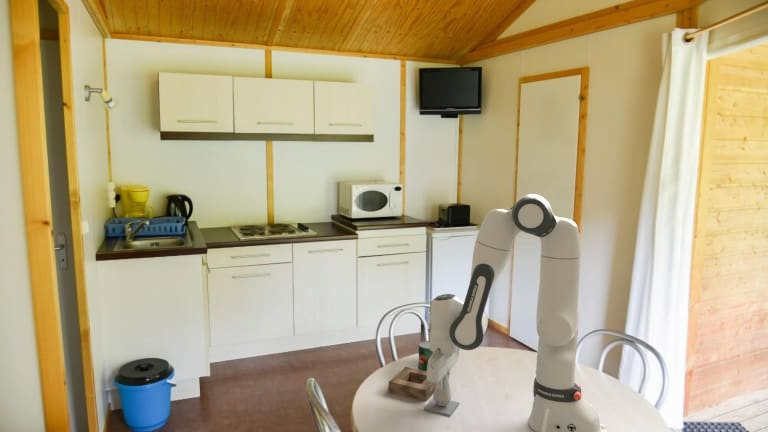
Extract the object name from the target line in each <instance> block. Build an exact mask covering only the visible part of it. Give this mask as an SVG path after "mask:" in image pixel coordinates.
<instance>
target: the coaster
mask: <svg viewBox="0 0 768 432" xmlns="http://www.w3.org/2000/svg"><path fill="white" fill-rule="evenodd" d="M459 406H460V402H458V401H454V400H450V402H449V404H448V405H446V406H439V405H437V404H436V403H435V400H434V398H433V397H432V398H431V399H430V401H429V402H427V404H426V405H425V406H424V407H423V411H426V412H427V411H428V412H431V413H435V414H439V415H443V416H447V417H452V415H453V413H455V411H456V410H457V409H458V407H459Z"/></svg>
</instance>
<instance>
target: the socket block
mask: <svg viewBox="0 0 768 432" xmlns="http://www.w3.org/2000/svg"><path fill="white" fill-rule="evenodd" d="M435 385H436V383H432V382H428V380H427V371H423V370H419V369H418V368H413V367H409V366H405V367H404V368H402V370H400V371H399V372H398V373H396V375H394V376H393V377H392V378H391V379H390V380H388V393H389V394H394V395H398V396H402V397H406V398H410V399H414V400H417V401H422V402H427V401H428V400H429V399H430V397H432V396H433V395H434V390H435Z"/></svg>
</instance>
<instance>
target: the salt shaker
mask: <svg viewBox="0 0 768 432" xmlns="http://www.w3.org/2000/svg"><path fill="white" fill-rule="evenodd" d="M449 369H450V368H449V367H448V370H447V373H449ZM449 381H450V379H449V380H448V374H446V375H445V376H444V377H443V379H442V382H443V388H442V389H437V383H436V385H435V390H434V393H433V394H432V396H433V397H432V398H434V400H435V403H436V404H437V405H439V406H446V405H448V404H449V402H450V400H451V398H452V392H451V387H450V382H449ZM451 401H452V400H451Z"/></svg>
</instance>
